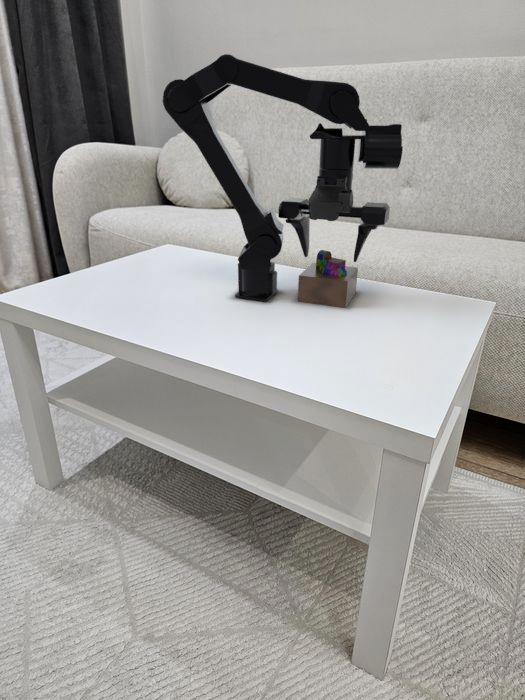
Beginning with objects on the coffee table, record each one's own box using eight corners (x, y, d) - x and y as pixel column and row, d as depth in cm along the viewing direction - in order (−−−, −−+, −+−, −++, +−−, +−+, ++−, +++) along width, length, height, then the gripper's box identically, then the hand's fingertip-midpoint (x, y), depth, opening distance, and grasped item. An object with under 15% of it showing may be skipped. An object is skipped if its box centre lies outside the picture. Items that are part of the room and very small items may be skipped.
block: (311, 270, 88) (312, 252, 87) (324, 266, 91) (325, 248, 90) (338, 277, 85) (340, 258, 83) (351, 272, 88) (352, 254, 86)
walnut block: (297, 301, 88) (298, 275, 86) (311, 286, 96) (312, 262, 93) (345, 307, 85) (347, 281, 83) (355, 292, 93) (358, 267, 90)
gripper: (267, 171, 77) (267, 265, 83) (384, 175, 70) (373, 277, 77) (289, 165, 86) (287, 250, 93) (394, 168, 80) (384, 259, 87)
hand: (330, 259), depth 87 cm, fingers open, 9 cm apart
